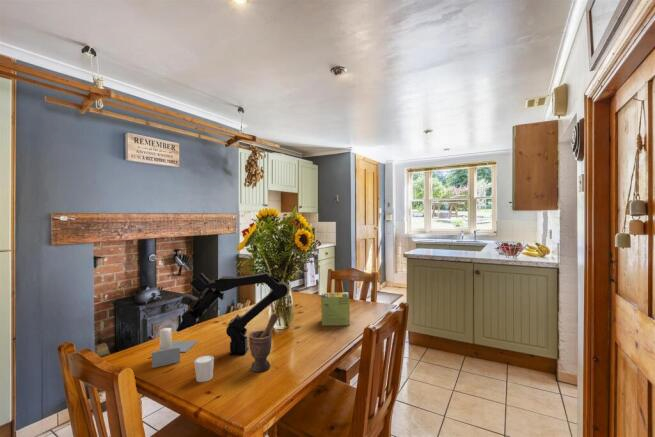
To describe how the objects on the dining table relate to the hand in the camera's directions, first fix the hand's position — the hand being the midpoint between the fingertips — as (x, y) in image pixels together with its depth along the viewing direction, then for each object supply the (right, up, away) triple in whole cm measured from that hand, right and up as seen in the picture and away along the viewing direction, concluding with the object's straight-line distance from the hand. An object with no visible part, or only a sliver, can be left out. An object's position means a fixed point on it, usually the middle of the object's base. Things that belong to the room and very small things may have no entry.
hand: (180, 327), depth 134 cm
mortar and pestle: (+38, -12, -10) cm, 41 cm away
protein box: (+67, -11, +40) cm, 79 cm away
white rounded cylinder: (-6, -13, -1) cm, 14 cm away
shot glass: (+18, -12, -19) cm, 28 cm away
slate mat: (-6, -13, +10) cm, 17 cm away
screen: (-3, -13, -7) cm, 15 cm away
